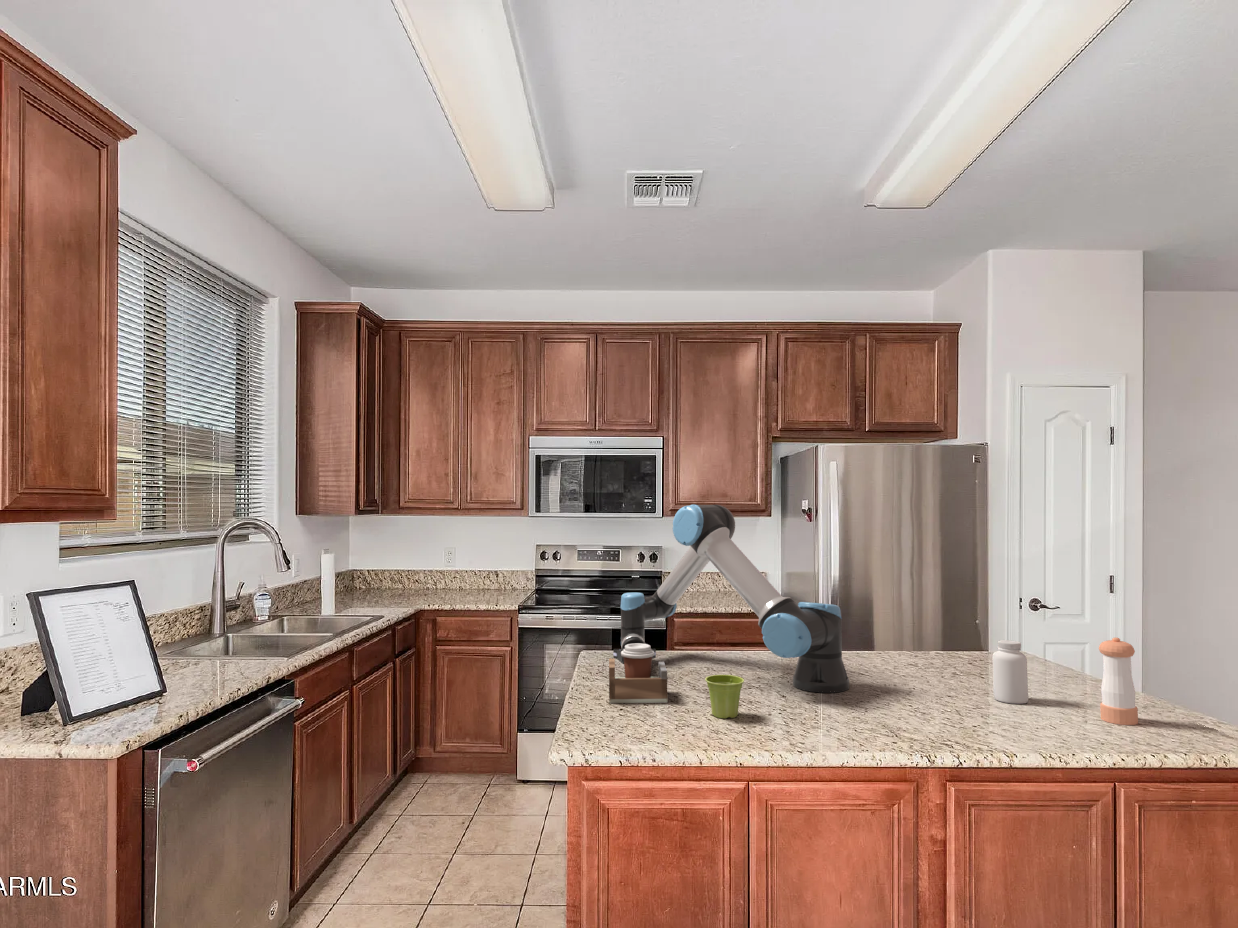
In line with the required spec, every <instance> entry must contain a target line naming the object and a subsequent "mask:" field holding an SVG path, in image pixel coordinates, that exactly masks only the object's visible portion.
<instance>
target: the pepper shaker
mask: <svg viewBox="0 0 1238 928" xmlns="http://www.w3.org/2000/svg"><path fill="white" fill-rule="evenodd" d="M1098 650H1099V652H1100V653H1101V654H1102V662H1103V663H1102V664H1103V667H1102V668H1103V674H1102V680H1101V687H1100V690H1101V702H1100V703H1099V709H1100V712H1099V713H1100V719H1101V720H1103V721H1104V722H1107V723H1111V724H1116V725H1121V726H1122V725H1123V726H1135V725H1138V724H1139V712H1138V711H1139V710H1138V707H1137V706H1136V689H1135V685H1134V681H1133V675H1132V674H1133V673H1132V657H1133V656H1134V655H1135V652H1136V651H1135V649H1134V646H1133V645H1132V644H1131V643H1129V642H1127V641H1122V640H1121V639H1120V638H1119V637H1113V638H1112V639H1109V640H1104V641H1102V642H1101V643H1100V644H1099V646H1098Z"/></svg>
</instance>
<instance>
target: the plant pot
mask: <svg viewBox="0 0 1238 928" xmlns="http://www.w3.org/2000/svg"><path fill="white" fill-rule="evenodd" d="M704 681H705V682H706V684H707V688H708V692H709V693H708V695H709V700H710V702H709V703H710V708H711V715H713V716H714V717H715V718H719V719H727V718H731V719H734V718H736V717H738V714H739V705H740V698H741V690H742V688H743V683H744V682H745V679H744V678H743V677H740V676H738V675H732V674H713V675H708V676H706V677H705V678H704Z"/></svg>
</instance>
